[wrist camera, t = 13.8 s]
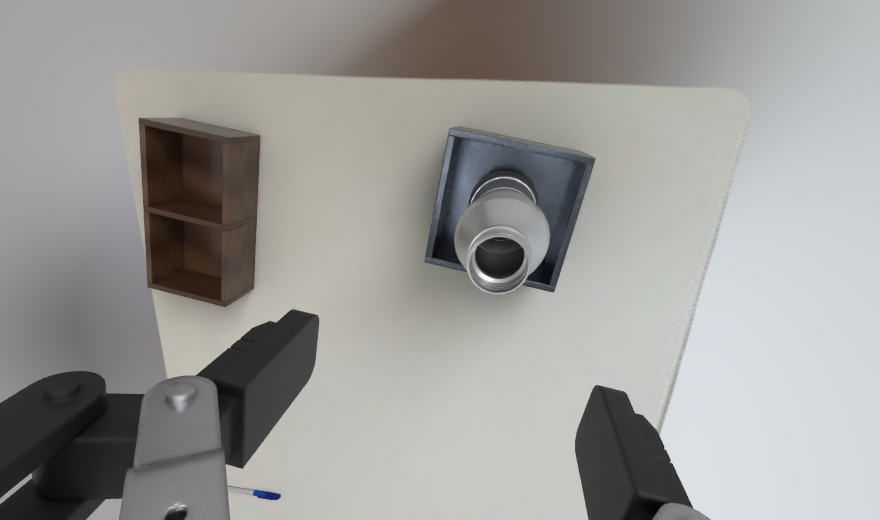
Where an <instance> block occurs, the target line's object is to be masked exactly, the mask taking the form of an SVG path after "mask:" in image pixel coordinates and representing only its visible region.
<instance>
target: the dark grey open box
mask: <svg viewBox="0 0 880 520" xmlns="http://www.w3.org/2000/svg"><path fill="white" fill-rule="evenodd" d="M594 162H595V158H594V157H592V156H590V155H588V154H586V153H583V152H581V151H576V150H571V149H566V148H561V147H557V146H552V145H547V144H542V143H537V142H532V141H528V140H523V139H518V138H513V137H508V136H503V135H499V134H494V133H489V132H484V131H479V130H474V129H470V128H465V127H460V126H459V127H453V128H450V129H449V136H448V140H447V145H446V150H445V156H444V161H443V166H442V172H441V177H440V182H439V187H438V193H437V198H436V203H435V208H434V214H433V219H432V224H431V229H430V235H429V240H428V245H427V251H426V256H425V262H427V263H431V264H435V265H439V266H444V267H448V268H452V269H456V270H461V271H465V272H467V270H466V269H465V268H464V267H463V265H462V263H461V262H460V260H459V259H458V256H457V253H456V250H455V244H454V235H455V230H456V226H457V223H458V221H459V219H460V217H461V215H462V214H463V212H464V211H465V210H466V209H467V207H468V203H469V198H470V195H471V193H472V190H473V189H474V187H475V186H476V184H477V183H478V182H479V181H480V180H481V179H482V178H484V177H485V176H487V175H489V174H491V173H494V172H497V171H513V172H517V173H519V174H521V175H523V176H525V177H526V178H527V179H528V180H529V181H530V182H531V183H532V184H533V186H534V188H535V189H536V192H537V195H538V207H539V208H540V209H541V210H542V212H543V213H544V215H545V217H546V219H547V222H548V225H549V231H550V240H549V247H548V250H547V253H546V255H545V257H544V259H543V260H542V262H541V263H540V265H539V266H538V267H537V268H536V269H535V270H534V271H533V272H532V273H531V274H530V275H528V277H527V279H526V281H525V282H524V283H523V284H522V285H524V286H528V287H533V288H537V289H541V290H545V291H549V292H554V291H555V287H556V284H557V281H558V278H559V275H560V272H561V268H562V265H563V262H564V259H565V256H566V252H567V249H568V246H569V243H570V239H571V236H572V233H573V230H574V227H575V223H576V220H577V217H578V214H579V210H580V207H581V204H582V201H583V198H584V194H585V191H586V188H587V185H588V182H589V178H590V175H591V172H592V169H593V165H594Z"/></svg>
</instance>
